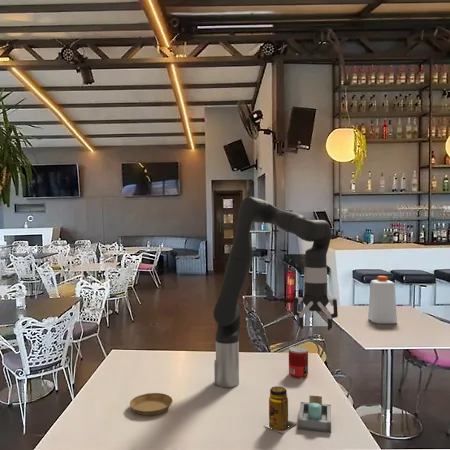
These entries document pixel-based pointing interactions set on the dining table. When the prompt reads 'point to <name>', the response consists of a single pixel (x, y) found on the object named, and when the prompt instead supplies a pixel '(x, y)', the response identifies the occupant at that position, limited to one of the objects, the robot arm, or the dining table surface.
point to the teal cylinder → (315, 411)
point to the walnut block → (316, 400)
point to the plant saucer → (151, 403)
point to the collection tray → (313, 424)
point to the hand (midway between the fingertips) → (315, 329)
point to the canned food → (298, 362)
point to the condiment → (279, 410)
